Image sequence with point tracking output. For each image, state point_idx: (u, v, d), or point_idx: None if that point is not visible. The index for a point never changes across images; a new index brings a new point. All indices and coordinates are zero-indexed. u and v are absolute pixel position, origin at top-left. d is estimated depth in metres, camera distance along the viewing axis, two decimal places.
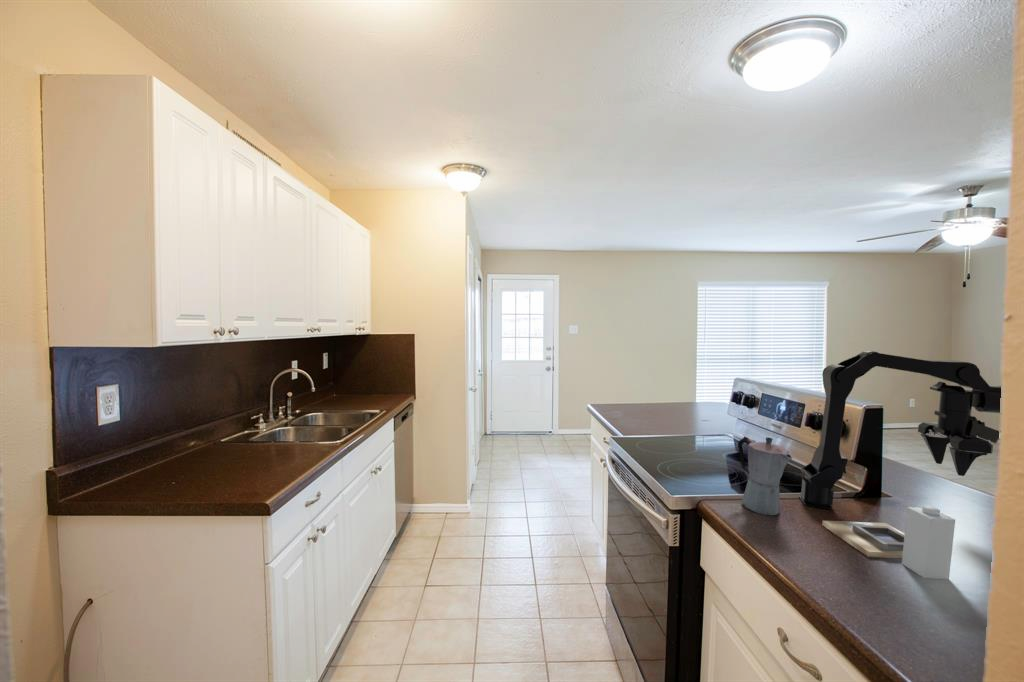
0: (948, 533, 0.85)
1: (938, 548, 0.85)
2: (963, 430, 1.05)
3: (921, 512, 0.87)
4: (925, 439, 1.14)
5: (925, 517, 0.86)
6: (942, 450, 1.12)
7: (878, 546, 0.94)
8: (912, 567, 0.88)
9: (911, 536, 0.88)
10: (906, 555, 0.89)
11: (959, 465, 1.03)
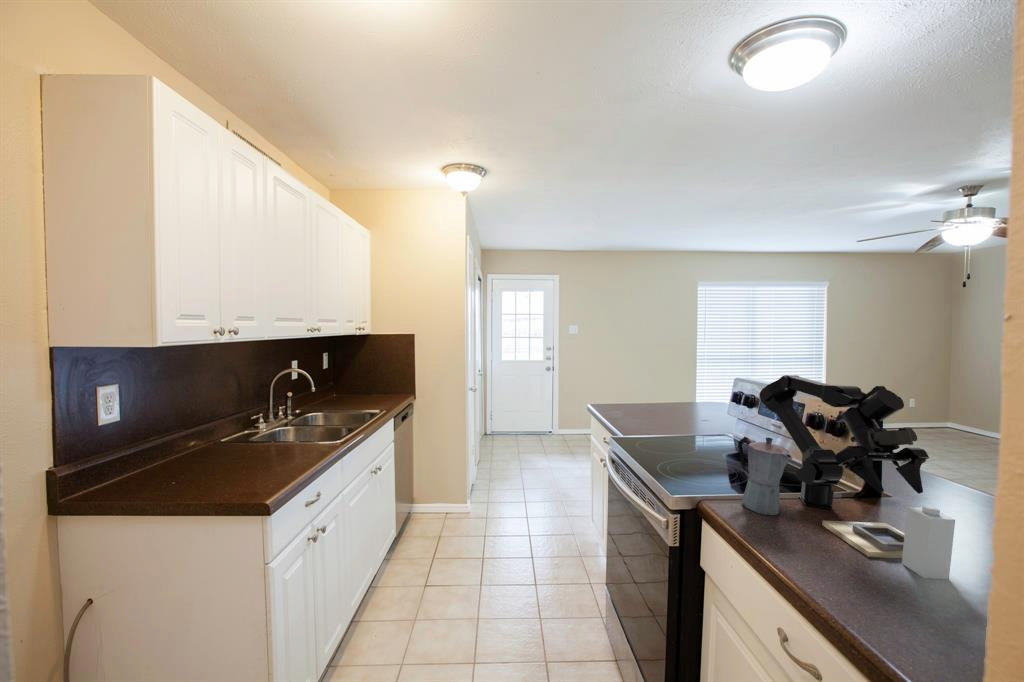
0: (948, 533, 0.85)
1: (938, 548, 0.85)
2: (866, 446, 1.01)
3: (921, 512, 0.87)
4: None
5: (925, 517, 0.86)
6: (914, 476, 0.97)
7: (878, 546, 0.94)
8: (912, 567, 0.88)
9: (911, 536, 0.88)
10: (906, 555, 0.89)
11: (868, 481, 0.97)
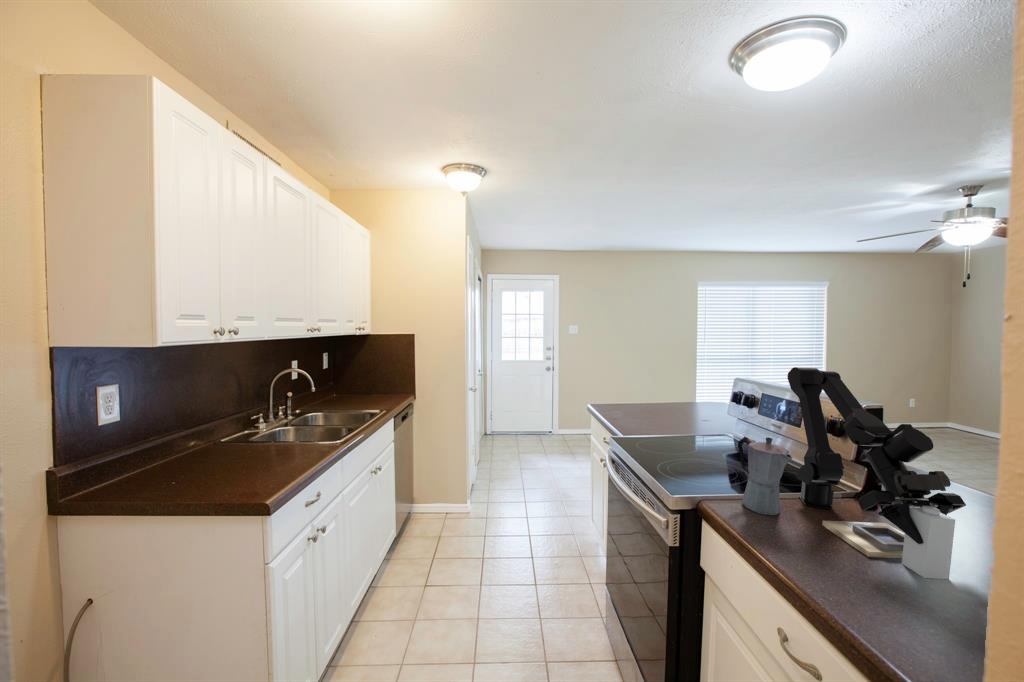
0: (948, 533, 0.85)
1: (938, 548, 0.85)
2: (893, 490, 0.93)
3: (921, 512, 0.87)
4: None
5: (925, 517, 0.86)
6: None
7: (878, 546, 0.94)
8: (912, 567, 0.88)
9: None
10: (906, 555, 0.89)
11: (905, 531, 0.89)
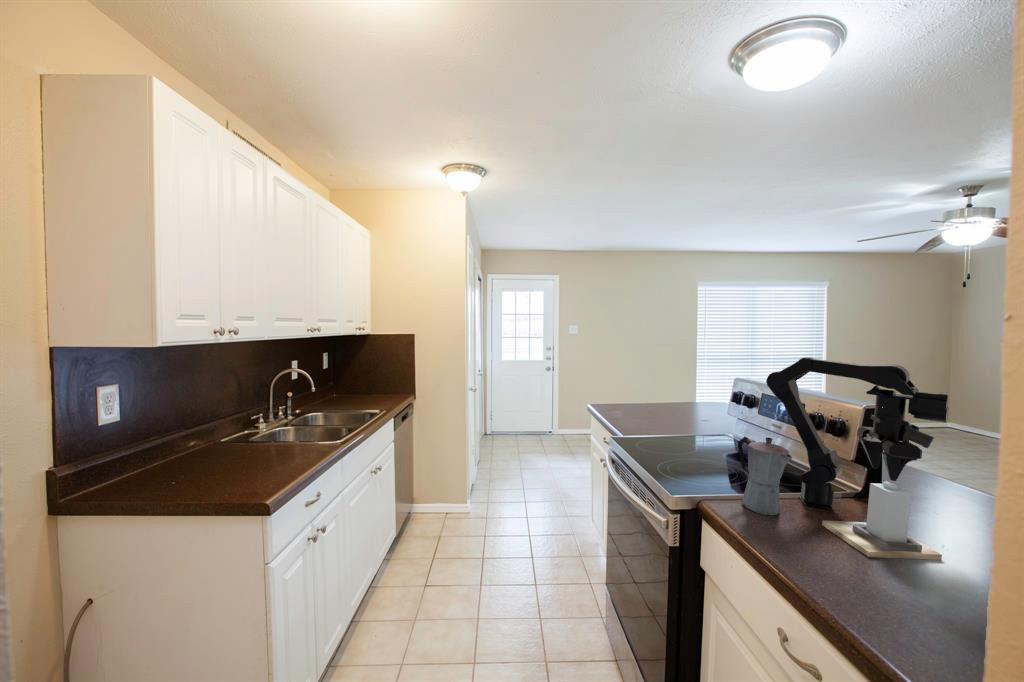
0: (905, 505, 0.94)
1: (896, 519, 0.94)
2: (896, 435, 1.04)
3: (882, 487, 0.97)
4: (863, 443, 1.14)
5: (885, 491, 0.95)
6: (879, 455, 1.12)
7: (878, 546, 0.94)
8: None
9: (873, 509, 0.98)
10: (869, 527, 0.99)
11: (891, 470, 1.03)
